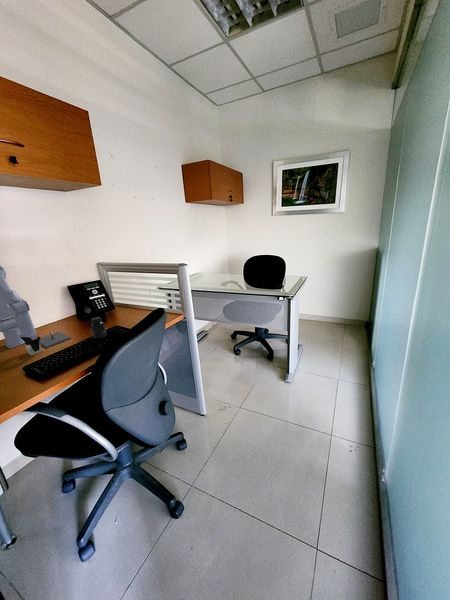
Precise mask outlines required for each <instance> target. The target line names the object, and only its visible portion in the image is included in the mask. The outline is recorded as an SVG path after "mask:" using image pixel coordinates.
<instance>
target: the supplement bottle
mask: <svg viewBox="0 0 450 600" xmlns="http://www.w3.org/2000/svg"><path fill="white" fill-rule="evenodd" d="M90 322H91V324H90V330H91V333H92V337H93V339H94V338H95V339H97V338H103V337H105V336H106V335H107V334H108V333H107V329H106V324H105V322H104V321H102V318H101V317H100V316H96V317H93V318H91V320H90ZM107 336H108V335H107Z"/></svg>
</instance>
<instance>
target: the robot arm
mask: <svg viewBox="0 0 450 600" xmlns="http://www.w3.org/2000/svg"><path fill="white" fill-rule="evenodd" d="M6 276H7V272H6V270H5V268H4V267H3V266H1V265H0V333H2V334H3V336H4V340H5V342H6V343H4V345H5V346H6V347H7V348H9V349H14V348H15V347H18V346H21V345H23V344H24V345H25V346H27V345H30V346H31V347H32V349H33V351H34V352H36V351H38V350H39V341H40V338H41V336H37V331H36V329H35V326H34V324H33V320H32V319H31V315H30V313H29V311H30V305H29V304H28V302H27V301H26V300H25V299H23V298H21V296H20V295H19V293H17V291H16V290H14V289H11V286H10V285H9V284H8V282H7V280H6V278H7V277H6Z"/></svg>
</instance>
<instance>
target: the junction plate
mask: <svg viewBox="0 0 450 600" xmlns="http://www.w3.org/2000/svg"><path fill="white" fill-rule="evenodd" d="M69 340H71V336H69V335H67V334H64V333H63V332H61V331H57V332H54V333H53V331H50V332H49V334H48V335H45V336H43V337H40V341H39V344H40V345H41V346H43V347H44V348H46V349H49V348H52V347H54V346H56V345H59V344H61V343H63V342H66V341H69Z"/></svg>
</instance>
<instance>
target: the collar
mask: <svg viewBox="0 0 450 600" xmlns="http://www.w3.org/2000/svg"><path fill="white" fill-rule="evenodd" d="M25 349H26V352H27V354H29V355H30V356H34V355H36V354H39V353H41V352H43V351H44V350H43V348H42V345H41V344H39V350H38V351H36V352H34V351H33V349H32V347H31V346H30V345H25Z"/></svg>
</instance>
